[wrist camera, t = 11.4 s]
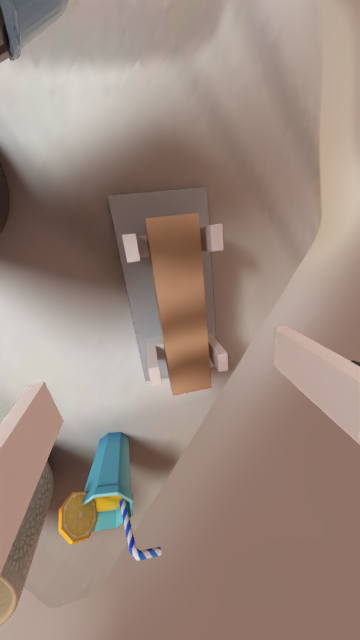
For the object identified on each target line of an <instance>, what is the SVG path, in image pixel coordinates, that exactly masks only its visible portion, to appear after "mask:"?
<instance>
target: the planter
mask: <svg viewBox="0 0 360 640" xmlns="http://www.w3.org/2000/svg"><path fill="white" fill-rule="evenodd" d="M53 484H54V481H53V473H52V470H51V467H50V465H49V463H48V462H46V465H45V467H44V469H43V472H42V474H41V477H40V479H39V482H38V484H37V486H36V489H35V491H34V494H33V496H32V499H31V501H30V503H29V506H28V508H27V511H26V513H25V516H24V518H23V520H22V523H21V525H20V528H19V530H18V533H17V535H16V538H15V540H14V542H13V545H12V547H11V550H10V552H9V555H8V557H7V559H6V562H5V564H4V567H3V569H2V572H1V574H0V626H1V625H2V624H4V623H5V622H6V621H7V620H8V619H9V618H10V617H11V615H12V614H13V612H14V611H15V609H16V607H17V604H18V602H19V599H20V596H21V593H22V590H23V587H24V584H25V581H26V578H27V575H28V572H29V569H30V566H31V563H32V559H33V556H34V553H35V550H36V547H37V543H38V540H39V537H40V533H41V530H42V527H43V524H44V521H45V518H46V515H47V512H48V509H49V505H50V501H51V497H52V493H53Z"/></svg>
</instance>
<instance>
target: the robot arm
mask: <svg viewBox="0 0 360 640" xmlns="http://www.w3.org/2000/svg"><path fill="white" fill-rule="evenodd" d="M67 3H68V0H0V62H2V61H4V60H5V59H7V58H9V59H10V60H13V61H14V60H15V59H17V58H19V56H20V53H21V49H22V48H23V47H24V46H25V45H27V44H28V43H29V42H30V41H32V40H33V39H34V38H35V37H36V36H38V35H39V34H40V33H41V32H43V31H44V30H45V29H46V28H48V27H49V26H50V25H51V24H53V23H54V22H56V21H57V20H58V19H59V18H60V17H61V16H62V14H63V12H64V11H65V9H66V6H67ZM8 209H9V196H8V188H7V184H6V180H5V176H4V174H3V171H2V168H1V166H0V232H1V231H2V229H3V227H4V225H5V222H6V219H7V215H8ZM274 367H275V368H276V369H277V370H278V371H279V372H281V373H282V374H283V375H284V376H285V377H286V378H287V379H288V380H289V381H291V383H293V384H294V385H295V386H296V387H297V388H298V389H299V390H300V391H301V392H302V393H304V394H305V395H306V396H307V397H308V398H309V399H310V400H311V401H313V403H315V404H316V405H317V406H318V407H319V408H320V409H321V410H322V411H323V412H325V413H326V414H327V415H328V416H329V417H330V418H331V419H332V420H333V421H334V422H335V423H337V424H338V425H339V426H340V427H341V428H342V429H343V430H344V431H345V432H346V433H348V434H349V435H350V436H351V437H352V438H353V439H354V440H355V441H356V442H357V443H358V444H360V363H359V362H356V361H349V360H347V359H345V358H344V357H342V356H340V355H338V354H337V353H335V352H333V351H331V350H329V349H328V348H326V347H324V346H322V345H320V344H318V343H317V342H315V341H313V340H311V339H310V338H308V337H306V336H304V335H303V334H301V333H299V332H297V331H295V330H293V329H292V328H290V327H288V326H281V327H277V328H275V334H274ZM62 423H63V419H62V417H61V415H60V413H59V411H58V409H57V407H56V405H55V403H54V401H53V398H52V396H51V394H50V392H49V390H48V388H47V386H46V384H45V382H43V383H38V384H34V385H30V386H28V388H27V389H26V390H25V392H24V393H23V394H22V396H21V397H20V398H19V400H18V401H17V402H16V404H15V405H14V406H13V408H12V409H11V410H10V412H9V413H8V414H7V416H6V417H5V418H4V420H3V421H2V422H1V423H0V574H1V572H2V569H3V567H4V564H5V562H6V559H7V557H8V555H9V552H10V550H11V547H12V545H13V542H14V540H15V538H16V535H17V533H18V530H19V528H20V525H21V523H22V520H23V518H24V516H25V513H26V511H27V508H28V506H29V503H30V501H31V499H32V496H33V494H34V491H35V489H36V486H37V484H38V482H39V479H40V477H41V474H42V472H43V469H44V467H45V465H46V462H47V460H48V457H49V455H50V452H51V450H52V448H53V445H54V443H55V440H56V438H57V435H58V433H59V430H60V428H61V426H62Z"/></svg>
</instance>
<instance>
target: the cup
mask: <svg viewBox="0 0 360 640" xmlns="http://www.w3.org/2000/svg"><path fill="white" fill-rule="evenodd" d="M133 503H134V499H133V493H131V478H130V456H129V438H128V437H126V436H125V435H124V434H122V433H121V432H119V433H108V434H107V435H106V436H104V437H103V438H102V439H101V440H100V442H99V445H98V448H97V451H96V454H95V458H94V461H93V464H92V467H91V471H90V474H89V477H88V480H87V483H86V487H85V490H84V491H77V492H72V493H71V494H70V495H69V496H68V497H67V499H66V500H65V502H64V503H63V504H62V506H61V507H60V509H59V528H58V532H59V533H60V534H61V535H62V536H63V537H64V538H65V539H66V541H67V542H68V543H69V544H70V545H71V544H75V543H78V542H81V541H84V540H86V539H88V538H89V536H90V534H91V532H92V530H93V531H100V530H107V529H114V528H117V527H118V526H119V525H121V524H122V523H124V527H125V532H126V537H127V541H128V546H129V551H130V553H131V554H132V556H133V557H134V558H135V559H136V560H137V561H139V560H144V559H148V558H152V557H156V556H160V555H161V548H160V547H157V548H151V549H146V550H141V551H139V550H138V549H137V547H136V545H135V541H134V537H133V533H132V528H131V524H130V520H129V518H130V517H131V516H132V515H133Z"/></svg>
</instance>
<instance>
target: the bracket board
mask: <svg viewBox="0 0 360 640" xmlns="http://www.w3.org/2000/svg"><path fill="white" fill-rule="evenodd" d="M107 196H108V201H109V206H110V211H111V215H112V220H113V225H114V230H115V235H116V240H117V245H118V250H119V254H120V259H121V264H122V269H123V274H124V279H125V284H126V289H127V293H128V298H129V303H130V308H131V313H132V318H133V323H134V327H135V332H136V337H137V342H138V347H139V352H140V357H141V362H142V366H143V371H144V376H145V381H151V386H155V385H159V384H162V383H161V378H165V377H169V376H168V370H167V364H166V358H165V351H164V345H163V339H162V332H161V326H160V320H159V313H158V307H157V301H156V294H155V288H154V282H153V276H152V269H151V263H150V257H149V250H148V244H147V238H146V231H145V225H144V223H145V218H155V217H164V216H174V215H183V214H193V213H199V223H200V237H201V251H202V264H203V278H204V291H205V305H206V318H207V332H208V345H209V359H210V368H213V367H216V369H217V370H218V372H222V371H227V370H228V356H227V352H226V351H225V349H224V348H223V347H222V346H221V345H220V343H219V342H218V341H217V340H216V331H215V314H214V297H213V280H212V263H211V252H213V251H221V250H223V225H222V224H214V225H209V212H208V195H207V187H197V188H185V189H174V190H163V191H151V192H140V193H128V194H117V195H107Z"/></svg>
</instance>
